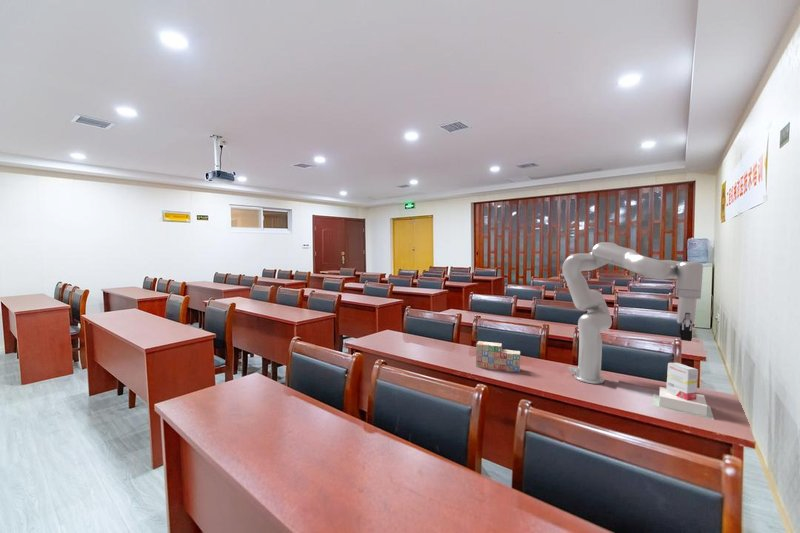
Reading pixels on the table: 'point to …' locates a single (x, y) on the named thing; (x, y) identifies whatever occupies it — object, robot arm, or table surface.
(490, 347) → the stack of blocks
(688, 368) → the ink box
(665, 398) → the cream brick
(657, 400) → the building plate
